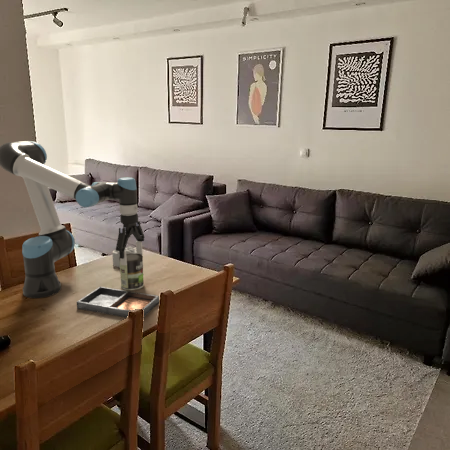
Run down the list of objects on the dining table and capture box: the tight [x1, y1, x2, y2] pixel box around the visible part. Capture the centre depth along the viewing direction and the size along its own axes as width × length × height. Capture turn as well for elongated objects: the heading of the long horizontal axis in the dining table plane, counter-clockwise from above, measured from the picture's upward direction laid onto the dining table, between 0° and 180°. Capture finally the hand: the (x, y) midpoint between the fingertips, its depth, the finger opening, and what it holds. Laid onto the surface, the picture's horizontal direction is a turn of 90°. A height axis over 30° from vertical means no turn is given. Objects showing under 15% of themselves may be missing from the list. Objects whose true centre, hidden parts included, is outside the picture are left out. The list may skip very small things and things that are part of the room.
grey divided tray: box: [76, 286, 160, 318], centre depth 157 cm, size 28×16×3 cm, turn 73°
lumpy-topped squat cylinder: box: [111, 246, 136, 268], centre depth 201 cm, size 10×13×9 cm
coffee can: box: [119, 253, 145, 291], centre depth 174 cm, size 10×10×14 cm
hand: (131, 259), depth 173 cm, fingers open, 13 cm apart
